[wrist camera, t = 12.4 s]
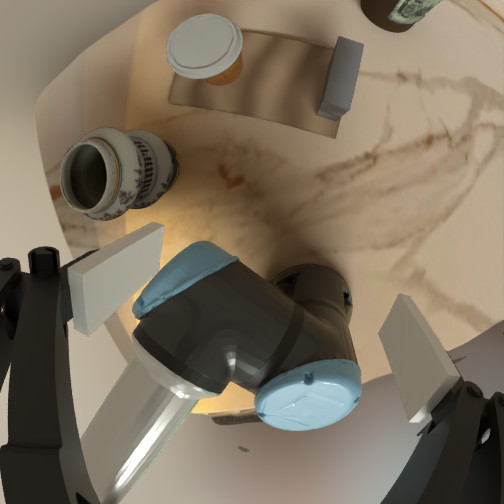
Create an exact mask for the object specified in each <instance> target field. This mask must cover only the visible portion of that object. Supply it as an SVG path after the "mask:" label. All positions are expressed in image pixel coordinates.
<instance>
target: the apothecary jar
mask: <svg viewBox="0 0 504 504" xmlns="http://www.w3.org/2000/svg"><path fill="white" fill-rule="evenodd" d="M175 156H176V152H175V150H174V148H173V147H172V146H171V145H170V144H169V143H168V142H166V141H164V140H161V139H160V138H159V137H158V136H157V135H155V134H153V133H151V132H149V131H146V130H132V131H128V132H126V133H124V132H123V131H121V130H119V129H116V128H112V127H102V128H98V129H95V130H93V131H91V132H89V133H87V134H86V135H85V136H84V137H82V138H81V139H80V141H79V142H78V143H77V144H75V145H74V146H72V147H71V148H70V149H69V150H68V151H67V153H66V154H65V156H64V158H63V160H62V163H61V167H60V176H59V179H60V188H61V192H62V195H63V197H64V199H65V201H66V202H67V204H68V205H69V206H70V207H71V208H72V209H74V210H75V211H77V212H80V213H84V214H85V215H86V216H88V217H90V218H92V219H95V220H100V221H107V220H112V219H115V218H117V217H119V216H121V215H122V214H124V213H125V212H126V211H127V210H128V209H129V208H130V209H142V208H146V207H148V206H150V205H152V204H154V203H155V202H156V201H157V200H159V199H160V197H161V196H162V195H163V194H164V193H166V192H167V191H168V190H170V189H171V188H172V186H173V185H174V183H175V181H176V179H177V176H178V172H179V164H178V163H177V161H176V159H175Z"/></svg>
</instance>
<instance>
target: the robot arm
mask: <svg viewBox="0 0 504 504" xmlns="http://www.w3.org/2000/svg"><path fill="white" fill-rule="evenodd" d="M163 233H164V225H161V224H157V223H154V222H151V223H149V224H147V225H145V226H143V227H141V228H139V229H138V230H136V231H134V232H132V233H130V234H128V235H126V236H124V237H122V238H120V239H118V240H116V241H115V242H113V243H111V244H109V245H107V246H105V247H104V248H102V249H97V250H93V251H89V252H87V253H85V254H84V255H82V257H81V256H80V257H78V258H76V260H73V261H71V262H69V263H68V264H66V265H64V266H62V267H61V268H60V257H59V251H58V250H57V249H56V248H53V247H47V246H45V247H38V248H35V249H33V250H31V251H30V252H29V253H28V259H29V268H30V273H25V272H21V267H20V261H19V260H17V259H14V258H3V259H2V260H0V391H1V388H2V385H3V382H4V379H5V377H6V374H7V371H8V369H9V366H10V364H11V369H10V379H9V393H8V443H7V444H6V445H3V446H1V448H0V472H1V479H2V486H3V492H4V497H5V502H6V504H119V503H120V501H121V500H122V499H123V498H124V497H125V495H126V494H127V493H128V492H129V490H130V489H131V488H132V487H133V486H134V485H135V483H136V482H137V481H138V479H139V478H140V477H141V476H142V475H143V473H144V472H145V471H146V470H147V468H148V467H149V466H150V465H151V463H152V462H153V461H154V460H155V458H156V457H157V456H158V454H159V453H160V452H161V451H162V449H163V448H164V447H165V445H166V444H167V443H168V441H169V440H170V439H171V437H172V436H173V435H174V433H175V432H176V431H177V429H178V428H179V427H180V425H181V424H182V423H183V421H184V420H185V419H186V417H187V416H188V415H189V413H190V412H191V411H192V409H193V408H194V406H195V405H196V404H197V402H198V401H199V400H200V399H202V398H209V397H215V396H219V395H220V394H221V393H222V392H223V390H224V389H225V388H226V386H227V385H228V383H229V382H230V381H232V382H234V383H236V384H237V385H239V386H241V387H243V388H244V389H246V390H248V391H250V392H251V393H253V394H255V395H256V396H255V398H254V405H255V408H256V411H257V412H258V416H259V417H260V418H261V420H263V421H264V422H265V423H267V424H269V425H271V426H273V427H276V428H280V429H284V430H292V431H304V430H310V429H317V428H321V427H324V426H327V425H330V424H332V423H334V422H336V421H338V420H340V419H342V418H343V417H345V416H346V415H347V414H349V413H350V412H351V411H352V410H353V409H354V407H355V406H356V405H357V403H358V401H359V399H360V395H361V391H362V386H361V369H360V367H359V365H358V362H357V358H356V354H355V350H354V346H353V342H352V338H351V334H350V330H349V327H348V326H349V322H350V319H351V315H352V309H353V304H352V297H351V294H350V291H349V289H348V286H347V284H346V283H345V281H344V280H343V279H342V277H341V276H340V275H338V274H337V273H336V272H335V271H333V270H331V269H329V268H327V267H324V266H321V265H316V264H302V265H297V266H293V267H291V268H288V269H286V270H284V271H283V272H281V273H280V274H278V275H277V276H276V277H275V278H274V279H273V280H272V281H271V283H269V282H268V281H266V280H265V279H264V278H262V277H261V276H259V275H258V274H257V273H255V272H254V271H253V270H251V269H250V268H248V267H247V266H246V265H244V264H243V263H242V262H240V261H239V258H238V257H237V256H232V255H230V254H229V253H227V252H226V251H224V250H223V249H221V248H220V247H218V246H217V245H215V244H214V243H212V242H209V241H198V242H195V243H193V244H191V245H189V246H188V247H186V248H185V249H183V250H182V251H181V252H180V253H178V254H177V255H176V256H175V257H174V258H173V259H172V260H170V261H169V262H168V263H167V264H166V265H165V266H164V267H163V268H162V269H161V270H160V271H159V265H160V257H161V248H162V240H163ZM155 274H156V275H155ZM154 275H155V277H154V278H153V279H152V280H151V281H150V282H149V283H148V285H147V286H146V287H145V288H144V290H143V291H142V293H141V295H140V296H139V297H138V299H137V300H136V301H135V303H134V305H133V307H132V312H133V313H134V315H135V318H137V319H138V320H140V323H139V324H138V326H137V327H136V329H135V330H134V331H133V333H132V340H133V345H134V349H135V355H134V356H133V358H132V359H131V361H130V362H129V364H128V365H127V367H126V368H125V370H124V372H123V373H122V374H121V376H120V377H119V379H118V380H117V382H116V384H115V385H114V387H113V388H112V390H111V391H110V393H109V394H108V396H107V397H106V399H105V401H104V402H103V404H102V405H101V407H100V409H99V410H98V412H97V413H96V415H95V417H94V418H93V420H92V421H91V423H90V424H89V426H88V428H87V429H86V431H85V433H84V434H83V436H82V438H81V439H80V438H79V434H78V428H77V424H76V417H75V411H74V404H73V397H72V389H71V379H70V366H69V347H68V325H67V322H68V321H69V320H70V319H72V318H73V322H74V328H75V330H77V331H79V332H81V333H83V334H84V335H86V336H90V335H91V334H92V333H93V332H94V331H95V330H96V329H97V328H98V327H99V326H100V325H101V324H102V323H103V322H105V321H106V320H107V319H108V318H109V317H110V316H111V315H112V314H113V313H114V312H115V311H116V310H117V309H118V308H119V307H120V306H121V305H123V304H124V303H125V302H126V301H127V300H128V299H129V298H130V297H131V296H132V295H133V294H134V293H136V292H137V291H138V290H139V289H140V288H141V287H142V286H143V285H144V284H145V283H147V282H148V281H149V280H150V279H151V278H152V277H153V276H154ZM2 309H3V311H2V312H1V310H2ZM378 334H379V337H380V339H381V342H382V345H383V347H384V350H385V353H386V355H387V358H388V361H389V364H390V366H391V369H392V372H393V375H394V378H395V381H396V384H397V386H398V390H399V393H400V396H401V399H402V402H403V405H404V409H405V412H406V415H407V419H408V422H422V421H423V420H424V419H425V418H426V417H427V416H428V415H429V414H430V413H431V416H432V420H431V421H430V422H429V423H428V424H427V425H426V426H425V427H424V428H423V429H422V430H421V431H420V432H419V433H418V434H417V436H419V435H420V434H422V436H421V438H420V440H419V443H418V444H417V446H416V448H415V450H414V452H413V454H412V455H411V457H410V459H409V461H408V462H407V464H406V466H405V467H404V469H403V471H402V473H401V474H400V476H399V477H398V479H397V480H396V482H395V484H394V485H393V487H392V488H391V489H390V491H389V492H388V494H387V495H386V497H385V498H384V499H383V501H382V502H381V504H504V394H502V393H501V392H495V393H494V395H493V396H492V397H491V398H490V399H486V398H484V397H483V393H482V391H481V389H480V388H479V387H478V386H477V385H476V384H474V383H472V382H470V381H466V382H465V381H464V380H463V378H462V376H461V374H460V373H459V371H458V369H457V368H456V366H455V365H454V362H453V360H451V357H450V355H449V354H448V352H447V351H446V350H445V349H444V347H443V345H442V344H441V342H440V341H439V339H438V337H437V336H436V334H435V333H434V331H433V330H432V328H431V327H430V325H429V324H428V322H427V321H426V319H425V318H424V316H423V315H422V313H421V312H420V310H419V309H418V307H417V306H416V304H415V303H414V302H413V300H412V299H411V297H410V296H407V295H404V294H400V293H399V294H398V296H397V298H396V300H395V303H394V305H393V307H392V309H391V310H390V312H389V314H388V316H387V318H386V320H385V322H384V324H383V326H382V328H381V329H380V331H379V333H378ZM489 432H490V436H489V438H488V439H487V440H486V441H485V442H484V443H483V444H482V439H483V438H484V437H485V436H486V435H487V434H488V433H489Z"/></svg>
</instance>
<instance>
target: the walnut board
mask: <svg viewBox="0 0 504 504" xmlns="http://www.w3.org/2000/svg"><path fill="white" fill-rule="evenodd" d="M241 33H242V37H243V45H242V50H241V54H242V63H243V67H242V71H241V74H240V75H239V77H238V78H237V79H236V80H234V81H233V82H231V83H229V84H227V85H222V86H215V85H211V84H209V83H206V82H204V81H201V80H199V79H192V78H187V77H184V76H181V75H179V74H178V73H177V74H176V77H175V81H174V84H173V88H172V91H171V95H170V99H169V102H168V103H170V104H175V105H184V106H192V107H199V108H206V109H212V110H219V111H224V112H230V113H235V114H241V115H246V116H250V117H255V118H260V119H264V120H268V121H273V122H277V123H281V124H285V125H289V126H292V127H296V128H300V129H303V130H307V131H310V132H314V133H317V134H320V135H324V136H327V137H330V138H333V139H335V138H336V135H337V131H338V127H339V123H340V119H341V117H342V116H343V115H344V114H345V113H346V112H348V111H349V110H350V106H351V102H352V98H353V94H354V89H355V85H356V81H357V76H358V72H359V67H360V62H361V57H362V52H363V47H364V44H362V43H359V42H356V41H353V40H350V39H347V38H343V37H340V36H339V37H338V40H337V43H336V46H335V49H334V50H331V49H328V48H324V47H321V46H317V45H313V44H309V43H305V42H301V41H296V40H291V39H287V38H281V37H276V36H270V35H264V34H257V33H250V32H241Z"/></svg>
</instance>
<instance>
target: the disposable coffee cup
mask: <svg viewBox="0 0 504 504" xmlns="http://www.w3.org/2000/svg"><path fill="white" fill-rule="evenodd" d="M242 45H243V37H242V33H241V30H240V28H239V27H238V26H237V25H236V23H234V22H233V21H232V20H230V19H228V18H226V17H223V16H220V15H217V14H200V15H196V16H193V17H191V18H189V19H187V20H185V21H183V22H182V23H181V24H179V25H178V26H177V27H176V28H175V29H174V30H173V32H172V33H171V34H170V36H169V39H168V41H167V45H166V54H167V60H168V63H169V65H170V67H171V68H172V69H173V70H174V71H175V72H176V73H178V74H179V75H181V76H184V77H187V78H192V79H199V80H201V81H204V82H206V83H209V84H211V85H215V86H222V85H227V84H229V83H231V82H233V81H234V80H236V79H237V78H238V77H239V75H240V74H241V71H242V67H243V63H242V54H241V50H242Z"/></svg>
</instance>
